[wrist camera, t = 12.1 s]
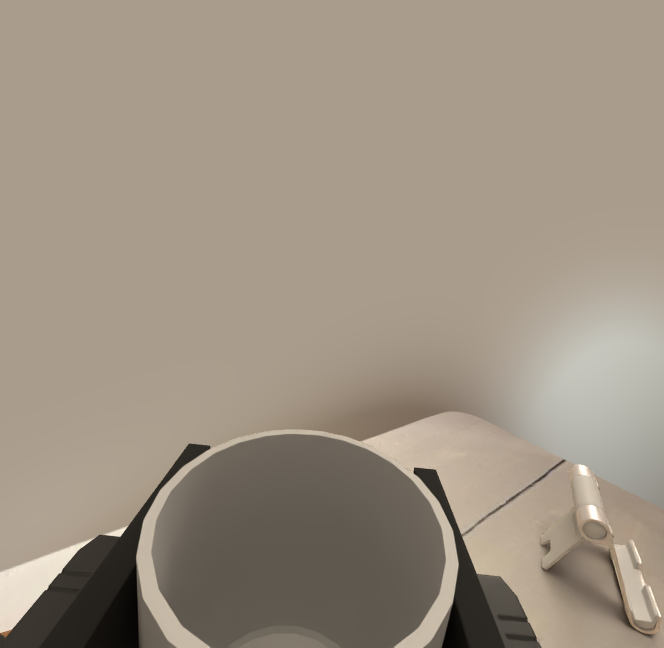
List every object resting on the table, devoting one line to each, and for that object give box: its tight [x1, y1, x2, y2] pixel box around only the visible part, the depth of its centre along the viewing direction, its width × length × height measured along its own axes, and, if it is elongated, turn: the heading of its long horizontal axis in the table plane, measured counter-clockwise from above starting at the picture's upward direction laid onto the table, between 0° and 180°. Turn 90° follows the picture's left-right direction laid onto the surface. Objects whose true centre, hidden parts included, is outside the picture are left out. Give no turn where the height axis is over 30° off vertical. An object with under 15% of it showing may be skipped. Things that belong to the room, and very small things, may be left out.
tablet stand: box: [541, 465, 661, 634], centre depth 33 cm, size 9×8×8 cm
